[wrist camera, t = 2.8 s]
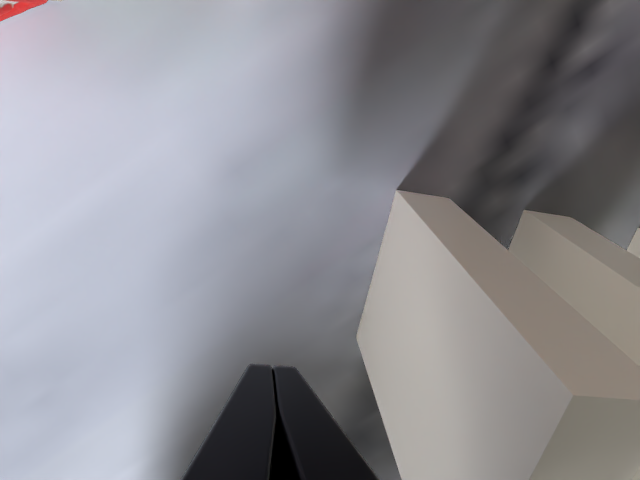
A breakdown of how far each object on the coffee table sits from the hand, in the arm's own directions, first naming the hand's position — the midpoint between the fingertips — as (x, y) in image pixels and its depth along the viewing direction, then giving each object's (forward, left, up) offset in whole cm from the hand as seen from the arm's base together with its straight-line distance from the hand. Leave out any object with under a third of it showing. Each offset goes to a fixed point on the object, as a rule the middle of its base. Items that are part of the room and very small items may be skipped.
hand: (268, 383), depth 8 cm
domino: (0, -4, -5) cm, 7 cm away
